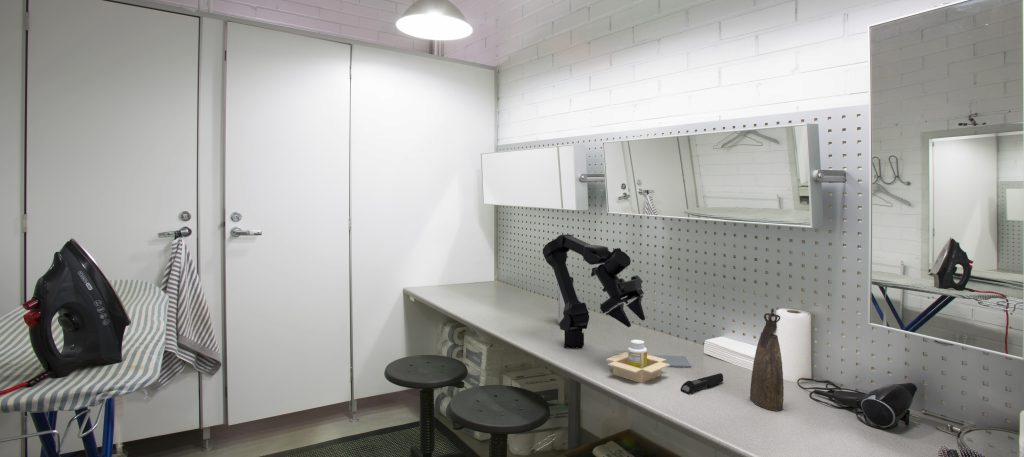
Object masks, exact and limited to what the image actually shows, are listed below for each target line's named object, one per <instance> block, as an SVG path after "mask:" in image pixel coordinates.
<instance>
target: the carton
mask: <svg viewBox="0 0 1024 457" xmlns="http://www.w3.org/2000/svg"><path fill="white" fill-rule="evenodd" d="M606 361H608V362H609V363H608V364H607V365H608V366H610V367H613V375H614V376H617V377H621V378H625V379H628V380H631V381H634V382H637V383H640V384H643V383H646V382H648V381H650V380H653V379H654V378H657V377H659V376H661V375H662V370H663V369H665V368H669V367H668V366H670V364H667V363H663V362H665V361H666V359H663V358H659V357H655V356H654V355H650V354H647V367H645V368H642V369H641V368H637V367H634V366H630V365H628V352H625V351H624V352H622V353H619V354H617V355H614V356H610V357H609V358H606Z"/></svg>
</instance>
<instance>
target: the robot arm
mask: <svg viewBox="0 0 1024 457" xmlns="http://www.w3.org/2000/svg"><path fill="white" fill-rule="evenodd" d="M569 251H572V252H575V254H577V255H580V256H582V259H583V261H585V262H586V263H587V264H588V265H590V266H591V265H598V266H595V267H593V268H591V273H590V277H592V278H593V277H595V276H596V277H597V279H598V281H599V282H600V284H601V286H602V287H603V288H602V289H601V290H602V292H603V293H605V292H606V294H607V296H608V297H609V298H608V299H606V300H605V301H604V302H602V303H601V304H600V305H599V310H600V311H601V313H602V314H605V315H606V316H610V317H612V318H613V319H615V320H616V321H618V322H620V323H621V324H622V325H623V326H626V327H627V328H630V327H632V323H631V322H630V320H629V318H628V316H627V314H626V312H625V310H624V305H625V304H626V307H627V308H628V309H629V310H630V311H631V312H632V313H634V315H636V317H637V318H638V319H640V320H641V321H642V322H643V321H646V316H645V312H644V310H643V305H642V300H643V298H644V294H645V292H644V291H643V289H642V288H643V286H642V284H643V282H644V281H643V280H642V279H641V277H640V276H639V275H633V276H631V278H630V279H629V280H626V281H625V279H624V278H622V277H619V275H620V274H621V273H622V272H624V270H625V269H627V268H628V267H629V266H630V265H631V261H632V260H631V257H630V255H628V253H625V251H623V250H622V249H621V247H616V248H614V249H613V250H612V251H610V250H609V248H608V247H607V246H604V245H599V244H598V245H597V244H590V243H587V242H586V241H584V240H581V239H579V238H577V237H575V236H574V235H572V234H570V233H569V234H565V233H564V234H560V235H558V236H557V237H556V238H554V239H553V240H551V241H549V242H548V243H546V244H545V245H544V246H543V248H542V255H543V257H544V259H545V261H546V263H547V265H549V266H550V267H551V268H552V270H553V272H554V275H555V278H556V282H557V285H559V286H558V287H559V288H560V291H561V294H562V297H563V300H564V303H565V307H564V311H563V315H564V318H563V319H562V320H561V322H560V323H559V324H558V325H559V330H561V331H563V332H564V344H563V349H583V348H584V346H585V332H583V330H584V329H585V330H586V329H587V328H588V325H589V321H590V315H589V314H590V312H589V310H588V307H587V303H586V302H584V301H583V302H581V301H580V300H579V298H578V296H577V292H576V290H575V286H573V285H574V282H573V283H572V281H571V278H570V277H571V274H570V272H569V269H568V266H567V259H568V253H569ZM624 303H625V304H624Z"/></svg>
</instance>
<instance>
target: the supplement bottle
mask: <svg viewBox="0 0 1024 457" xmlns="http://www.w3.org/2000/svg"><path fill="white" fill-rule="evenodd" d="M627 353H628V365H630V366H634V367H637V368H641V369H642V368H645V367H647V355H648V348H647V347H646V346H645V341H644V340H641V339H631V341H630V346H629V347H628V350H627Z"/></svg>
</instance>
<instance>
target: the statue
mask: <svg viewBox="0 0 1024 457" xmlns="http://www.w3.org/2000/svg"><path fill="white" fill-rule="evenodd" d="M774 312H775V310H774V308H771V309H770V312H767V313H764V315H763V318H764V321H765V325H764V326H763V329H762V331H761V333H760V335H759V338H758V341H757V346H756V350H755V354H754V359H753V365H752V372H751V377H750V378H751V380H750V387H749V388H750V389H749V390H750V391H749V398H750V400H751V401H752V402H753V403H754V405H756V406H759V407H760V408H763V409H766V410H771V411H774V412H775V411H777V412H780V411H781V410H783V407H784V393H785V392H784V391H785V390H784V389H785V388H784V371H783V359H782V354H781V353H782V352H781V347H780V346H781V345H780V342H779V337H778V335H777V334H775V333H776V332H777V329H778V324H777V323H779V321H780V320H781V315H778V314H776V313H774ZM767 316H768V318H767ZM772 317H774V320H773V319H772Z"/></svg>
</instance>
